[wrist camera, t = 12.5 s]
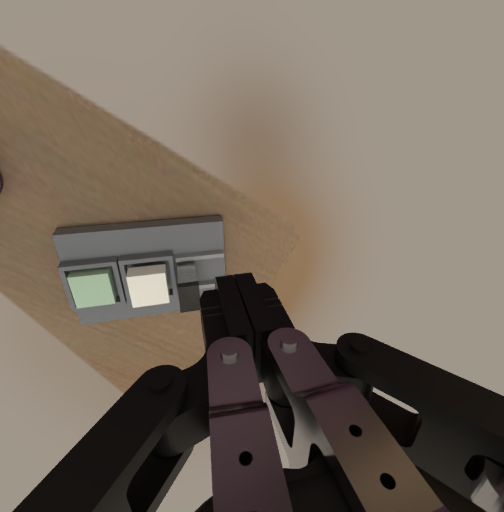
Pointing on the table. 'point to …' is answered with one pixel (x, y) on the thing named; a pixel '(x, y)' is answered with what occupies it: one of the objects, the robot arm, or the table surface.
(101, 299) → the green button
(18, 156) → the table surface
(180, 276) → the paddle switch
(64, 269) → the panel
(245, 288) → the robot arm
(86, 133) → the table surface
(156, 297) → the white button
